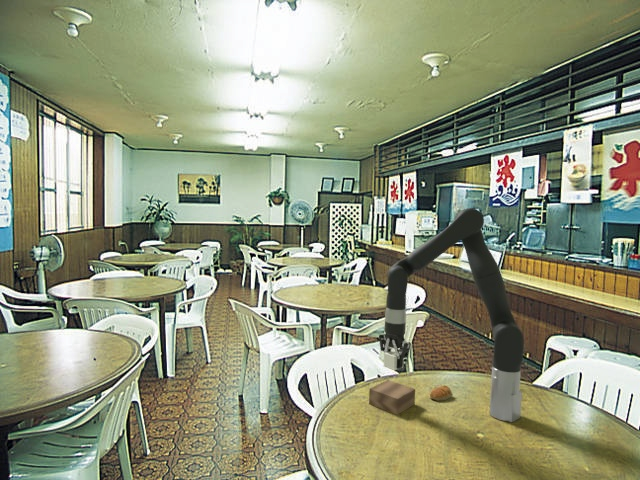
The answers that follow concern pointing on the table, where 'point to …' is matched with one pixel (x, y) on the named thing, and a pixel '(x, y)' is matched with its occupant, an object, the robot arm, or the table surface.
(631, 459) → the table surface
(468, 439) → the table surface
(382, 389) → the walnut box
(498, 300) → the robot arm
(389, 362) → the cube
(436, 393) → the pastry
